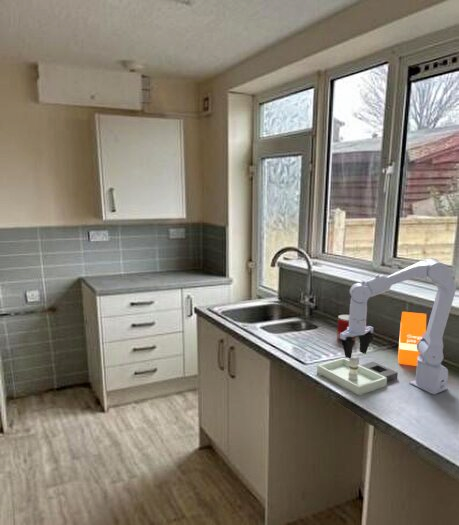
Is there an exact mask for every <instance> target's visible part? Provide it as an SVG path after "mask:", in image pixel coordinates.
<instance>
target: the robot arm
mask: <svg viewBox="0 0 459 525" xmlns="http://www.w3.org/2000/svg"><path fill="white" fill-rule="evenodd" d="M413 278H419V279H425V280H427V279H429V280H431V281H432V282H433V284H434V285H435V286H436V288H437V291H436V295H435V298H434V301H433V306H432V309H431V313H430V316H429V320H428V323H427V324H428V325H427V326H426V332H425V333H424V334H423V336H422V338H421V340H420V341H419V342H418V344H417V350H418V352H419V353H420V354H419V356H418V358H417V366H416V371H415V379H414V380H411V381H410V382H409V385H410V384H411V385H412V386H415V387H416V388H419V389H421V390H423V391H426V392H428V393H430V394H432V395H437V394H439V393H442V392H444V391H446V390H448V389H449V387H448V378H449V370H448V368H447V367H445V366H444V365H442V362H443V360H444V353H443V352H444V350H443V349H444V342H443V341H444V340H443V337H444V332H445V330H446V327H447V322H448V319H449V317H450V316H449V315H450V311H451V309H452V305H453V301H454V298H455V294H456V291H457V285H456V282H455V279H454V276H453V271H452V269H451V268H450V267H449V266H448V265H447V264H445V263H443V262H441V261H439V260H438V259H436V258H433V257H431V258H427V259H425V260H420V261H418V262H416V263H414V264H412V265H409V266H407V267H405V268H403V269H400V270H398V271H395V272H394V273H391V274H389V275H384V274H380V275H379V274H375V275H374V277H373V278H370V279H367V280H362V281H361V282H360V283H359V282H357V283H356V282H355V283H354V284H353V285H352V286H350V289H349V291H348V292H349V294H350V296H351V297H350V301H349V302H350V304H349V314H348V315H349V327H347V330H345V331H344V332H342V333H340V337H339V340H340V341H341V342H340V343H341V345H342V348H343V352H344V356H345V357H344V358H346V359H347V358H348V359H350V358H351V356H353V349H354V345H355V343H356V340H355V341H353V340H352V339H351V337H354V336H356V337H357V336H358V338H359V352H360V353H362V354H365V355H366V354H367V352H368V349H369V346H370V343H371V342H372V340H373V339H374V338H375V335H374V334H373V333H374V327H373V326H371V325H367V315H368V313H367V312H368V300H369V299H370V298H372V297H373V298H374V297H375V296H378V295H380V294H383V293H385V292H387V291H390V289H391V288H392V286H393V285H396V284H398V283H403V282H404V281H408V280H410V279H413Z"/></svg>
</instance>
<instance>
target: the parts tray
mask: <svg viewBox="0 0 459 525" xmlns="http://www.w3.org/2000/svg"><path fill="white" fill-rule="evenodd" d="M361 365H362V364H361ZM361 365H360V364H358V380H355V381H353V380H350V379H349V378H348V376H349V369H350V368H349V366H350V363H349V358H348V359H347V357H341V358H337V359H335V360H331V361H327V362H324V363H320V364H317V365H316V369H317V370H316V373H317V374H319V375H320V376H322V377H324V378H325V379H328V380H329V381H332V382H333V383H335V384H337V385H339V386H340V387H342V388H344V389H346V390H348V391H349V392H351V393H353V394H355V395H357V396H358V397H359V396H362V395H364V394H367V393H368V394H369V393H371V392H373V391H376V390H378V389H382V388H384V387H387V383H388V382H387V378H386V377H384V376H382V375H380V374H378V373H376V372H374V371H371V370H369V369H367V368H365V367H363V366H361Z"/></svg>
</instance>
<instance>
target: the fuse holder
mask: <svg viewBox="0 0 459 525" xmlns="http://www.w3.org/2000/svg"><path fill="white" fill-rule="evenodd" d="M361 366H363V367H365V368H367V369H369V370H371V371H374V372H376V373H378V374H380V375H382V376H384V377H386V378H387V383H391V382H393V381H395V380H398V371H395V370H393V369H391V368H389V367H386V366H385V365H381V364H379V363H377V362H375V361H370V362H367V363H364V364H361Z"/></svg>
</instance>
